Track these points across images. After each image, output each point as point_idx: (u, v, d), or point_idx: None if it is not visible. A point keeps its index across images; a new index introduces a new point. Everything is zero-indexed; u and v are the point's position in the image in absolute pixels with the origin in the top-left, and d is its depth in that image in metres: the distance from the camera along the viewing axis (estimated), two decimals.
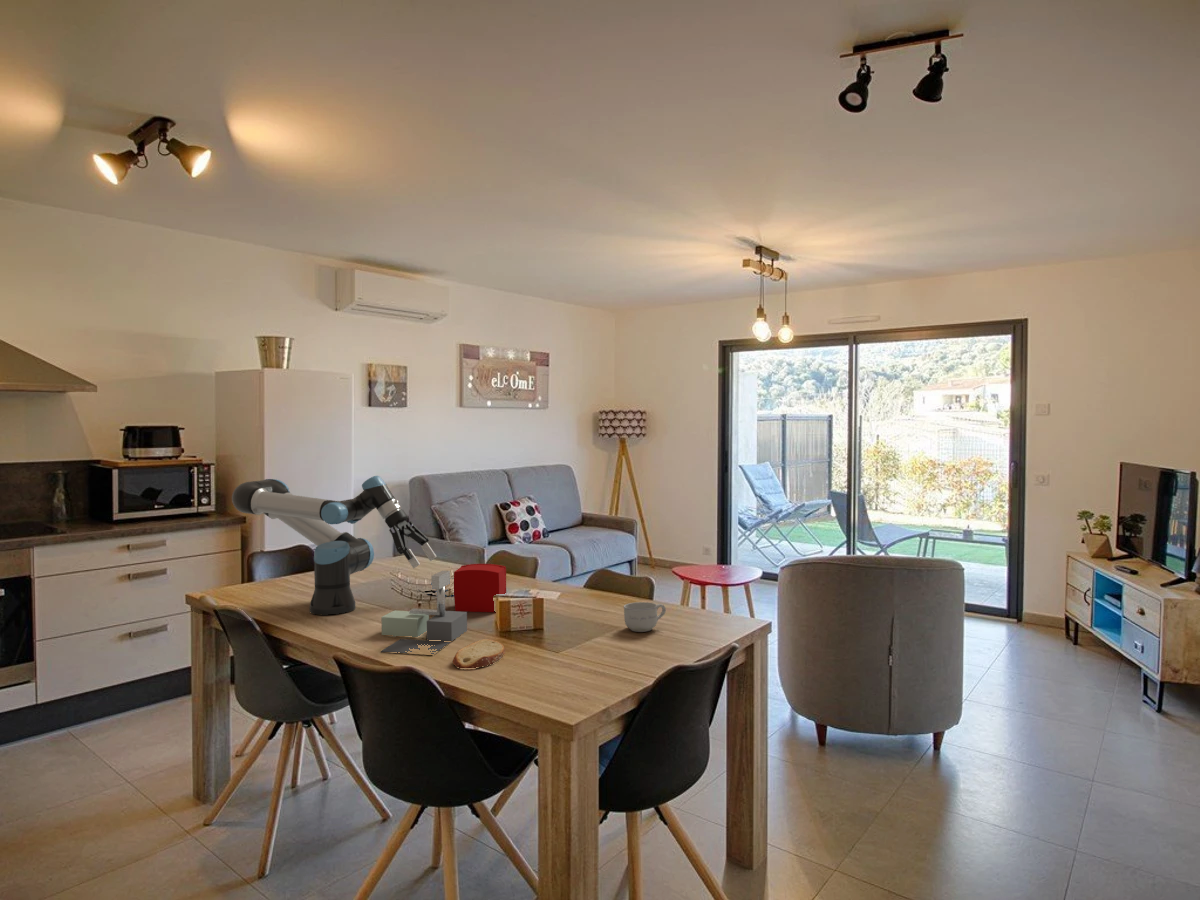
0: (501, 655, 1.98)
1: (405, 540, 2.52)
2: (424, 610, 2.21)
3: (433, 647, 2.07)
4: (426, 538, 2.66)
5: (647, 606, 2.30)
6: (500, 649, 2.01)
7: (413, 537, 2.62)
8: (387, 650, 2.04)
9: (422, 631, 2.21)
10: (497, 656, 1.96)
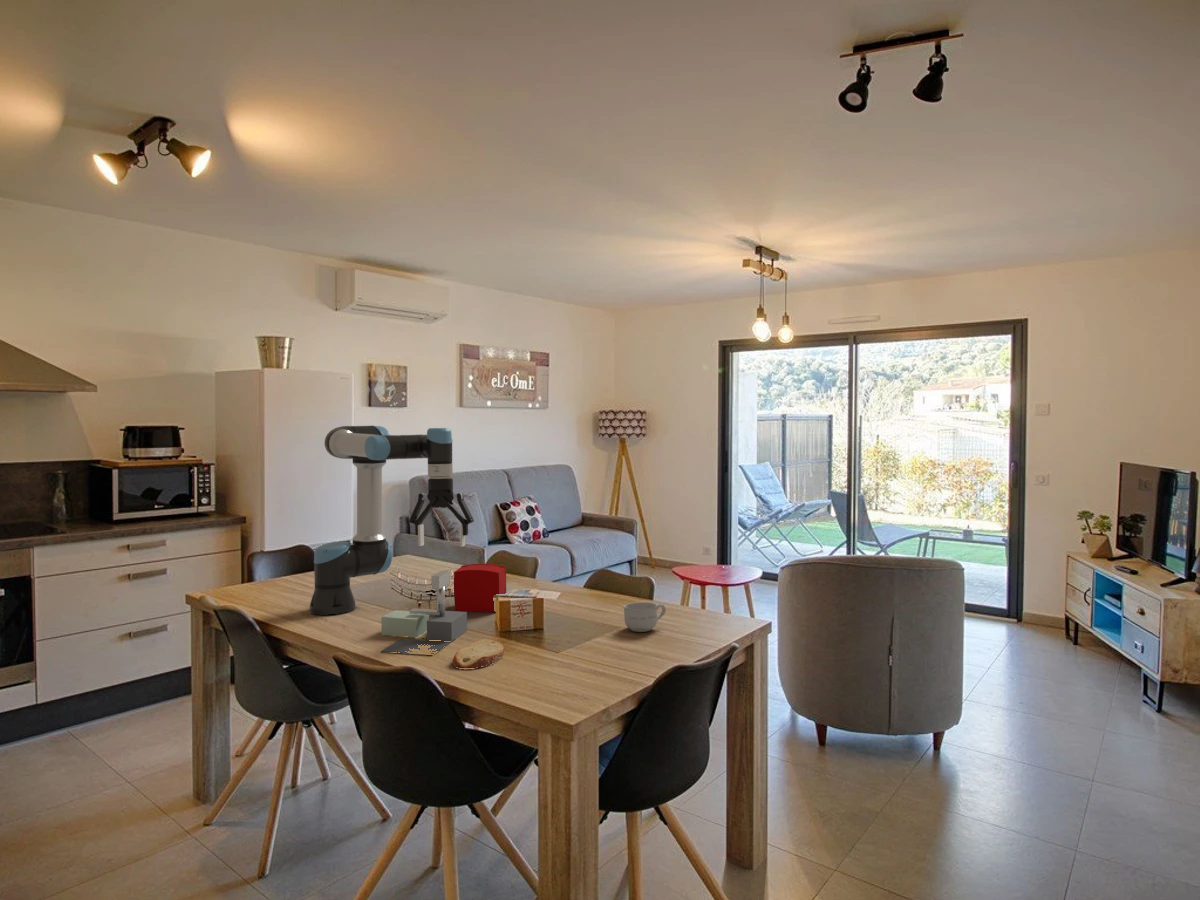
0: (501, 655, 1.98)
1: (422, 514, 2.21)
2: (424, 610, 2.21)
3: (433, 647, 2.07)
4: (467, 520, 2.18)
5: (647, 606, 2.30)
6: (500, 649, 2.01)
7: None
8: (387, 650, 2.04)
9: (421, 631, 2.21)
10: (497, 656, 1.96)
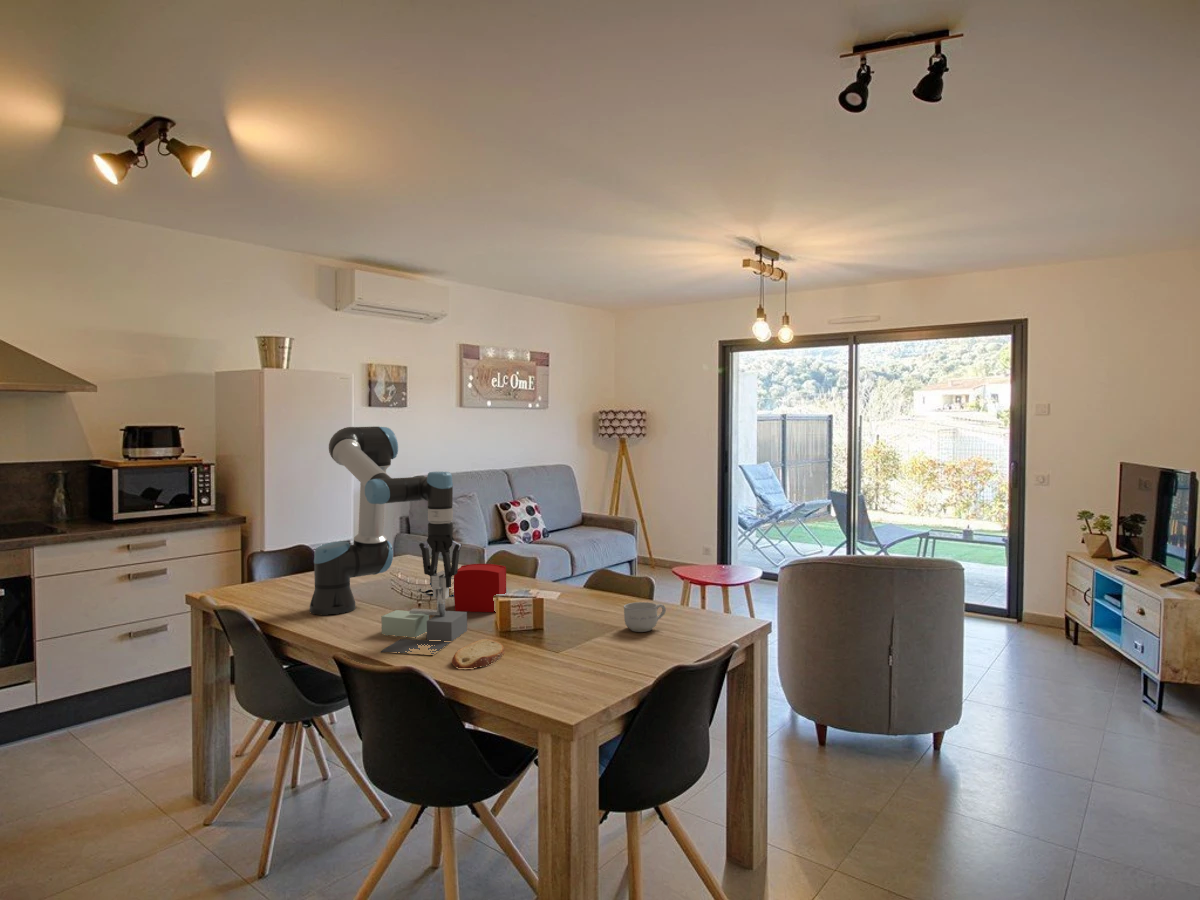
0: (500, 655, 1.98)
1: (432, 563, 2.19)
2: (424, 610, 2.21)
3: (433, 647, 2.07)
4: (450, 572, 2.18)
5: (647, 606, 2.30)
6: (500, 649, 2.01)
7: None
8: (387, 650, 2.04)
9: (421, 632, 2.20)
10: (496, 656, 1.96)
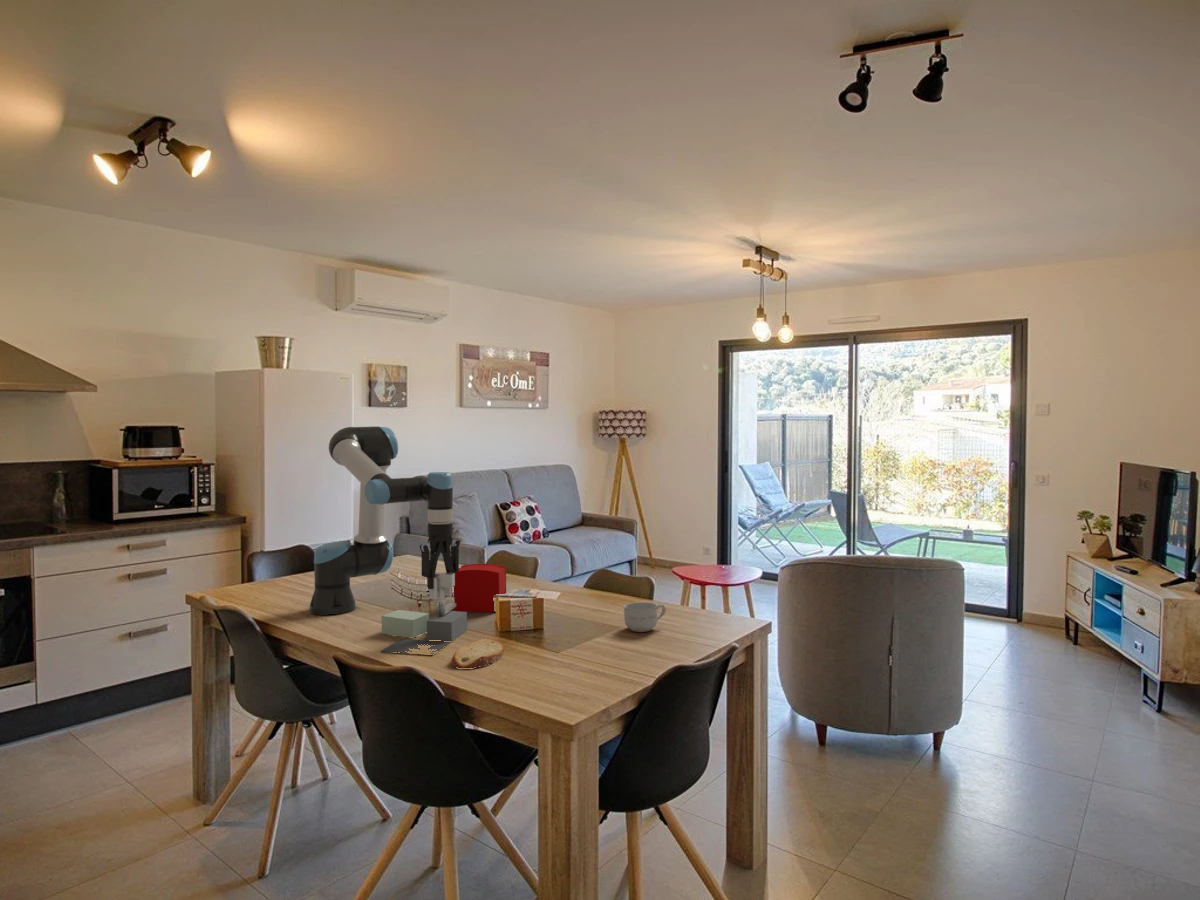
0: (500, 655, 1.98)
1: None
2: (446, 606, 2.25)
3: (433, 647, 2.07)
4: None
5: (647, 606, 2.30)
6: (499, 649, 2.01)
7: None
8: (387, 650, 2.04)
9: (420, 632, 2.20)
10: (496, 656, 1.96)
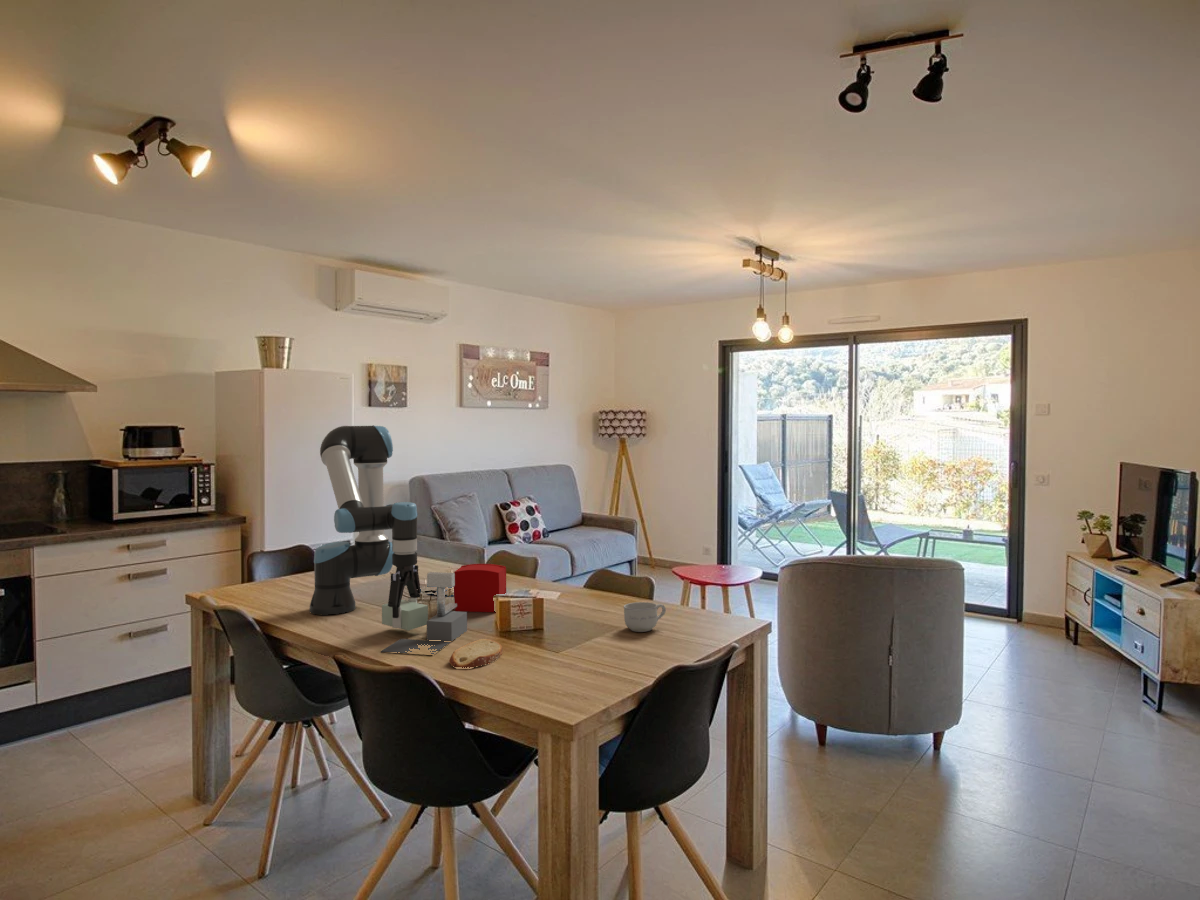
0: (498, 655, 1.98)
1: None
2: (447, 606, 2.25)
3: (433, 647, 2.07)
4: None
5: (647, 606, 2.30)
6: (498, 649, 2.01)
7: None
8: (387, 650, 2.04)
9: (416, 623, 2.19)
10: (494, 656, 1.96)
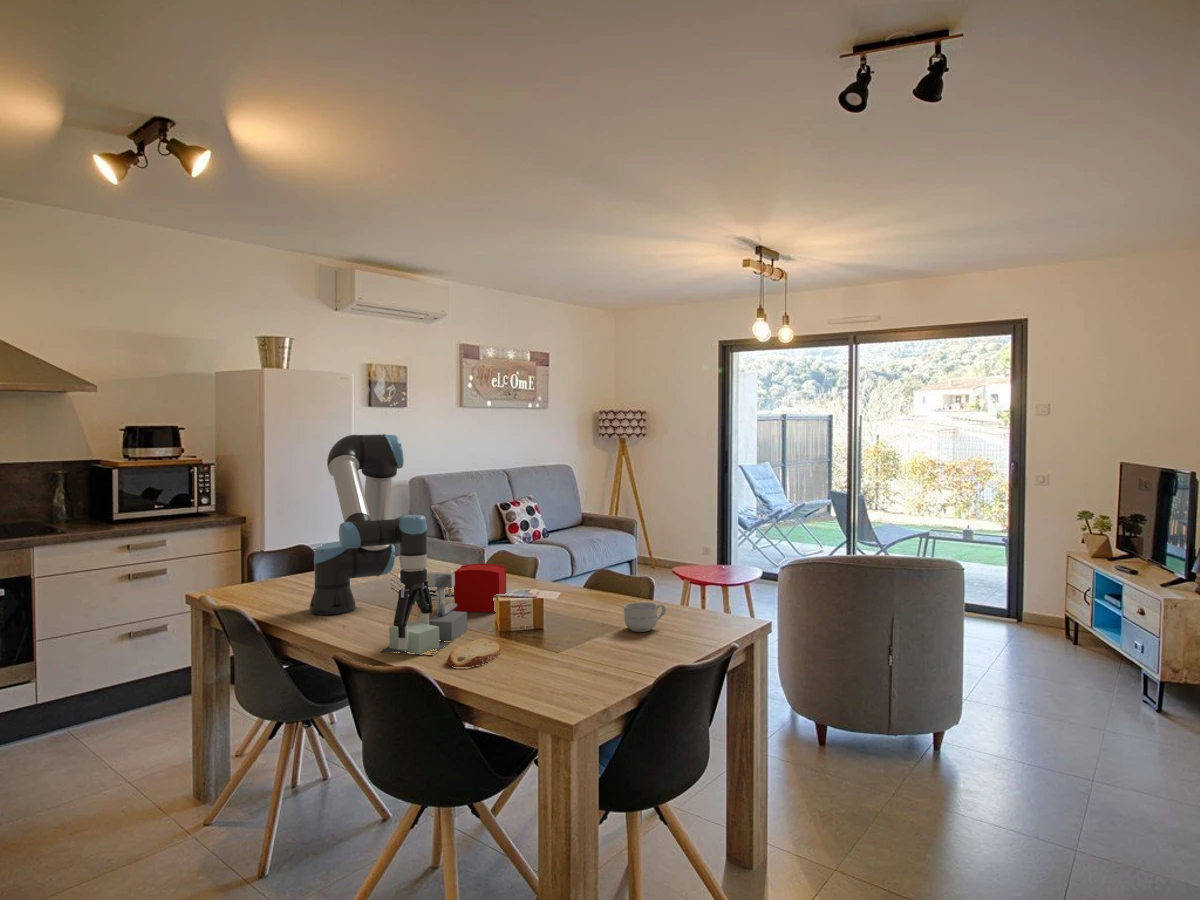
0: (496, 655, 1.99)
1: None
2: (447, 606, 2.25)
3: None
4: None
5: (647, 606, 2.30)
6: (496, 649, 2.01)
7: None
8: (387, 650, 2.04)
9: (427, 647, 2.03)
10: (491, 656, 1.96)
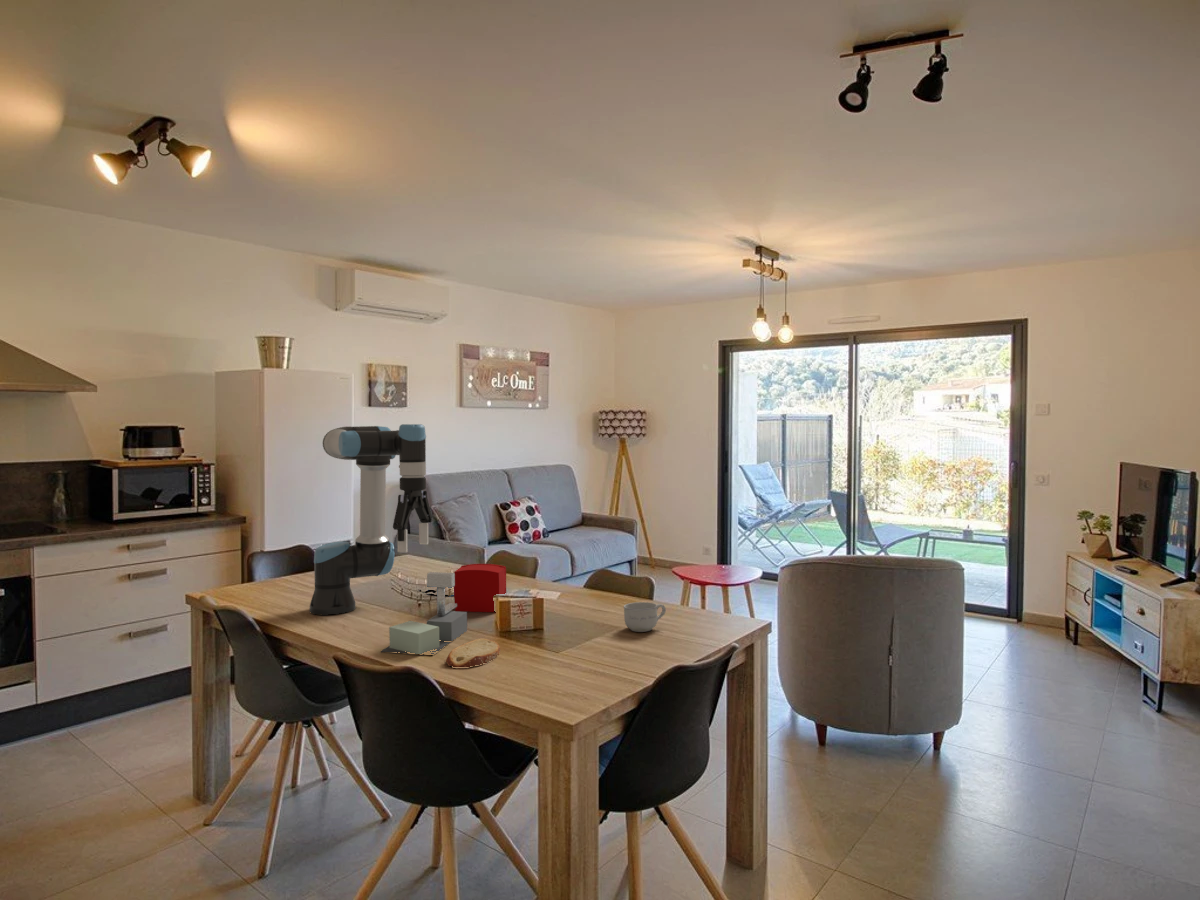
0: (495, 655, 1.99)
1: None
2: (447, 606, 2.25)
3: None
4: None
5: (647, 606, 2.30)
6: (495, 649, 2.01)
7: None
8: (387, 650, 2.04)
9: (427, 647, 2.03)
10: (491, 656, 1.97)
